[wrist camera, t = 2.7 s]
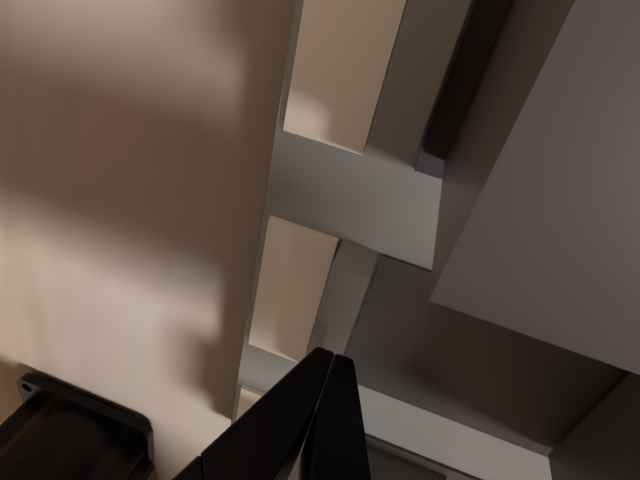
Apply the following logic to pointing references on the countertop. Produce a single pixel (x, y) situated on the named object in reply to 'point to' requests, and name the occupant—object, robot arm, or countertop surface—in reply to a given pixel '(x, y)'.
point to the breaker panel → (455, 224)
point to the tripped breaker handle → (603, 439)
